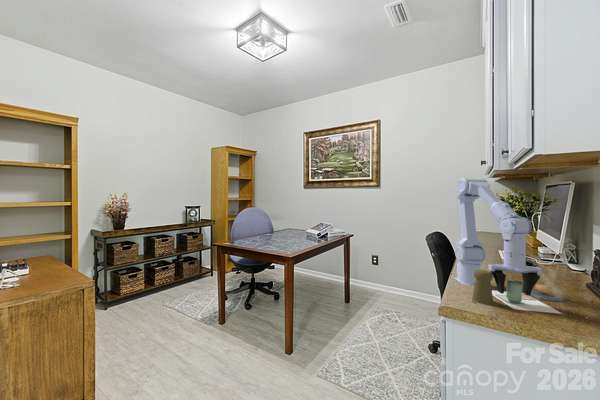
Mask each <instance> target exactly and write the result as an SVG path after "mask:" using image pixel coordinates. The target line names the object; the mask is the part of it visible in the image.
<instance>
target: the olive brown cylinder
mask: <svg viewBox="0 0 600 400" xmlns="http://www.w3.org/2000/svg"><path fill="white" fill-rule="evenodd" d="M474 277H475V279H476V280H475V285H473V286H474V287H473V292H472V298H471V299H472V300H471V302H472V303H473V304H475V305H478V304H482V305H491V306H492V305H494V296H493V295H492V283H491V282H492V280H494V277H493V275H492V273H491V272H490V270H485V269H480V270H476V271H475V272H474Z"/></svg>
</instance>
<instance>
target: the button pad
mask: <svg viewBox="0 0 600 400" xmlns="http://www.w3.org/2000/svg"><path fill="white" fill-rule="evenodd" d="M530 296H531V297H532V298H534V299H536V300H538V301H551V302H561V303H563V302H564V298H562V297H560V296H558V295H556V294H554V293H553V292H552V293H543V292H539V291H537V290H533V289H532V291H531V294H530Z"/></svg>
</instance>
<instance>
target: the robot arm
mask: <svg viewBox="0 0 600 400" xmlns="http://www.w3.org/2000/svg"><path fill="white" fill-rule="evenodd" d="M455 187H456V198H457V199H458V208H459V209H458V210H459V211H458V212H459V222H460V231H461V233H460V234H461V239H460V240H459V241H457V242H456V243H455V249H454V255H455V257H456V259H457V261H458V262H457V264H456V277H454V278H453V279H454V280H456V281H457V282H458V283H459V284H462V285H467V286H475V280H476V279H475V277H474V272H475V271H476V270H481V264H483V262H484V261H485V260H486V258H487V257H486V256H487V254H486V250H485V248H484V243H482V241H480V240H479V239H478V238H477V237H478V236H477V225H476V218H475V217H476V216H475V207H474V202H475V201H476V200H479V199H480V198H481V199H482V200H483V201H484V203H486V204H487V205H488V206H489V207H490V208H489V212H490V214H491V215H492V216H493V217H494V218H495V219H496V221H497V222H498V223H499V229H500V232H501V238H502V239H503V262H502V263H501V264H500V263H498V264H497V263H495V264H494V263H493V264H492V263H489V264H488V271H489V272H491V273H492V276H493V280H494V281H495V282H494V283H495V284H496V288H497V291H498V292H500V293H502V294H504V291H505V283H506V278H507V274H505V273H504V272H507V273H520V274H521V275H522V276H521V277H522V281H523V285H522V293H524V294H526V295H528V296H531V295H530V294H531V291H532V290H533V289H534V287H535V284H537V283H538V281H539V280H541V276H540V275H542V268H540V267H537V266H528V265H527V263H526V262H527V261H526V260H527V259H526V257H527V235H529V234H530V232H531V231H532V223H531V222H530V220H529V219H528V218H527V217H522V216H521V215H518V213H517V212H515V211H514V209H513V208H512V207H511V206H510V204H509V203H508V202H504V201H500V200H499V198H498V197H497V195H496V194H495V193H494V191H493V190H492V189H491V183H490V182H489V181H488V180H487V179H486V178H465V177H464V178H463V177H461V178H460V179H459V181H458V182H457V183H456V185H455Z"/></svg>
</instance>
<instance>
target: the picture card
mask: <svg viewBox="0 0 600 400" xmlns="http://www.w3.org/2000/svg"><path fill="white" fill-rule="evenodd" d="M506 293H507V290H506V291H505V290H504V294H502V293H500V292H498V290H494V289H493V290H492V296H493V297H495V298H496V299H498V300H499V301H500V302H502V303H504V304H505V305H507V306H509V308H511V309H513V310H519V311H528V312H537V313H538V312H539V313H551V314H560V315H561V314H562V315H563V313H562V312H560V311H559V310H557V309H555V308H553V307H552V306H549V305H547V304H546V303H544V302H541V300H539V299H537V298H535V297H533V296H531V295H530V296H528V295H526V294H524V292H522V301H520V303H519V304H516V303H511V302H509V301H508V298H506Z"/></svg>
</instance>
